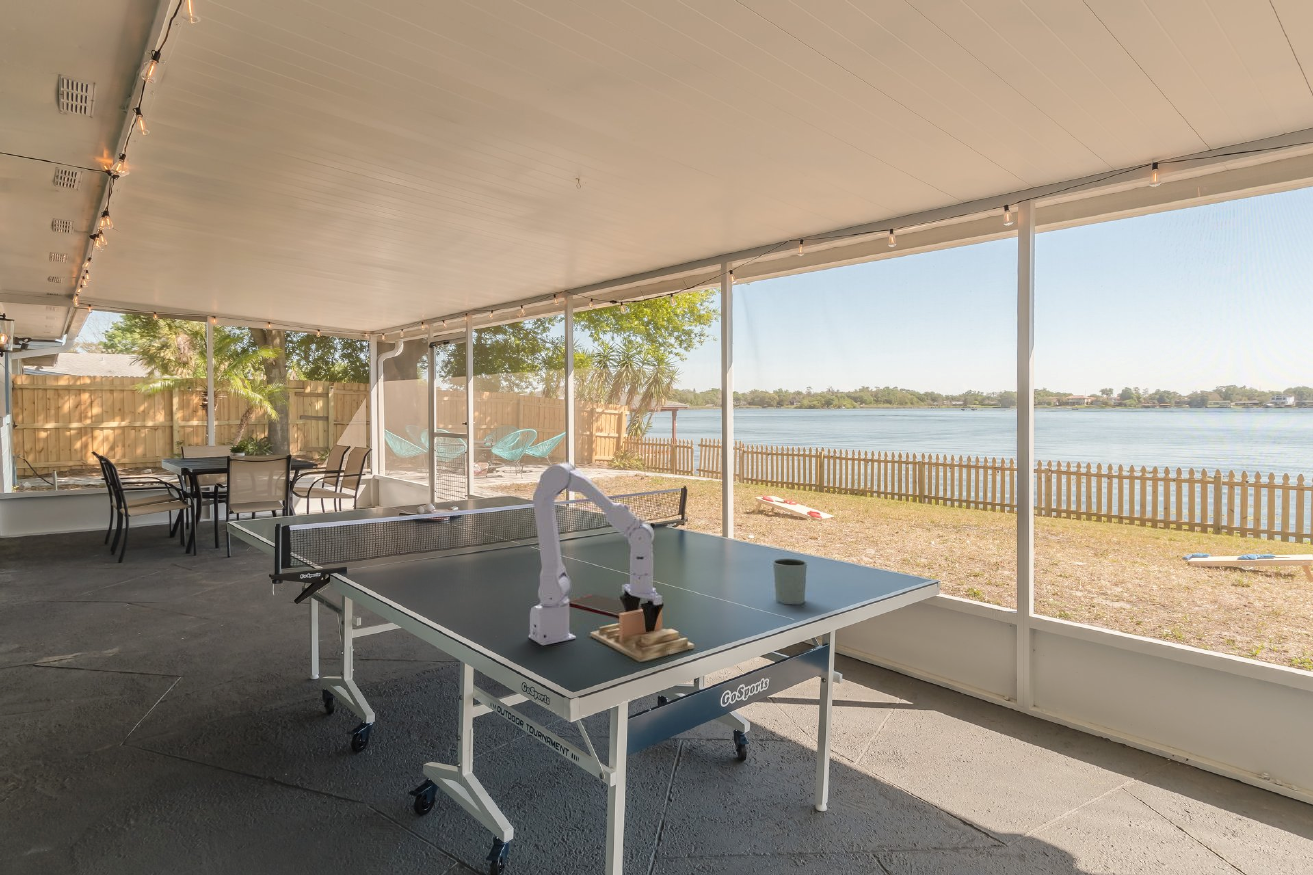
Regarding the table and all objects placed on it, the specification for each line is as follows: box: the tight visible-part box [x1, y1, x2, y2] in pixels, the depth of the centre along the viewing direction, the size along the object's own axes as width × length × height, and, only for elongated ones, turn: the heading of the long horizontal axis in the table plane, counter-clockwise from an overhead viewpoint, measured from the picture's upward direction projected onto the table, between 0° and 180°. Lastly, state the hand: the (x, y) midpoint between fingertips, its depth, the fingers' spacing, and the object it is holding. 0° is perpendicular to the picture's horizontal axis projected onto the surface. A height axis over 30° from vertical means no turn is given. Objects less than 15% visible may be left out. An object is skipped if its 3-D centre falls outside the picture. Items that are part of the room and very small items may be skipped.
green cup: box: [772, 558, 808, 605], centre depth 208 cm, size 10×10×12 cm
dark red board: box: [569, 593, 642, 619], centre depth 199 cm, size 12×2×25 cm
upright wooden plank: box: [618, 608, 663, 643], centre depth 170 cm, size 12×2×7 cm, turn 126°
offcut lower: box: [635, 636, 682, 651], centre depth 164 cm, size 11×4×2 cm, turn 126°
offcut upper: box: [641, 628, 680, 645], centre depth 164 cm, size 9×3×2 cm, turn 126°
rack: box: [589, 622, 695, 663], centre depth 170 cm, size 16×22×2 cm
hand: (641, 626), depth 170 cm, fingers open, 7 cm apart
